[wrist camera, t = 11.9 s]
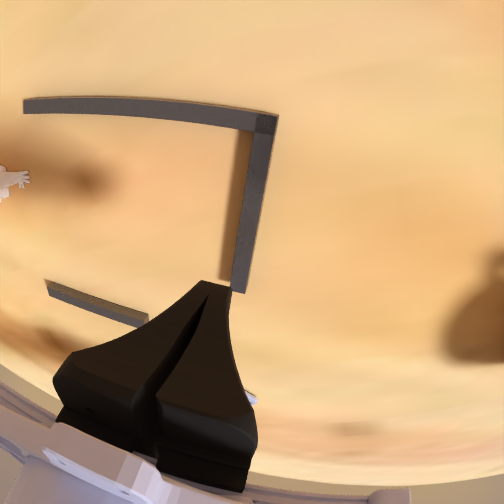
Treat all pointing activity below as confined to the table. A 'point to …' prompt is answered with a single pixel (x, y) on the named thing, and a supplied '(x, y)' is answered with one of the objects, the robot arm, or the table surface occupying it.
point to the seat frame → (187, 112)
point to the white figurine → (11, 181)
